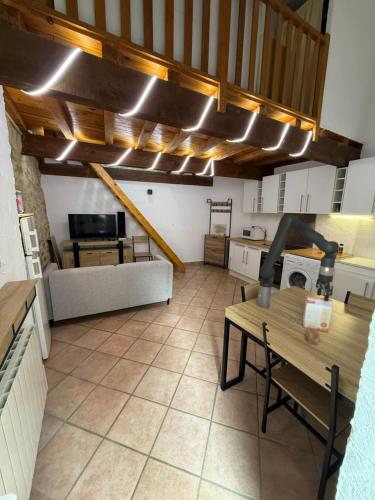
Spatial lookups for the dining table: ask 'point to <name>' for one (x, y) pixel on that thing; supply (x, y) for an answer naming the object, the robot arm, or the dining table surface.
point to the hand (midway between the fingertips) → (322, 298)
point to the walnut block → (312, 336)
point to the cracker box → (317, 313)
